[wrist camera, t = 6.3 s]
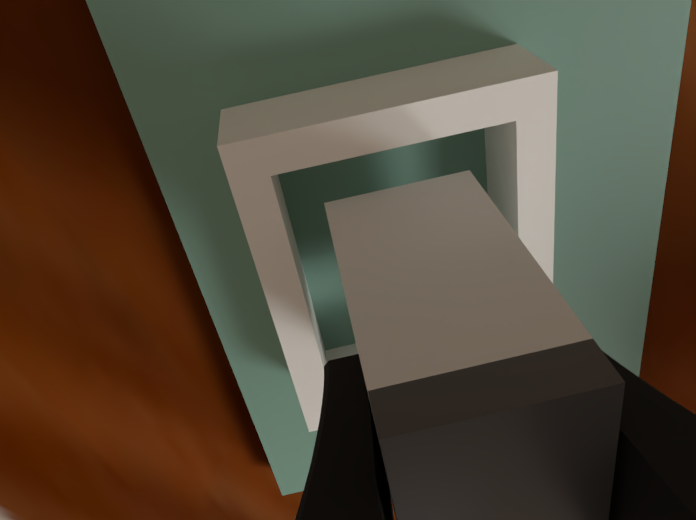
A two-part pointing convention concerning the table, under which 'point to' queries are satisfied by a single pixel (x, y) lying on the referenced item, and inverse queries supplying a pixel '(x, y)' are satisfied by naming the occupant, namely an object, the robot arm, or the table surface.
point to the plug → (473, 360)
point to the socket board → (395, 156)
